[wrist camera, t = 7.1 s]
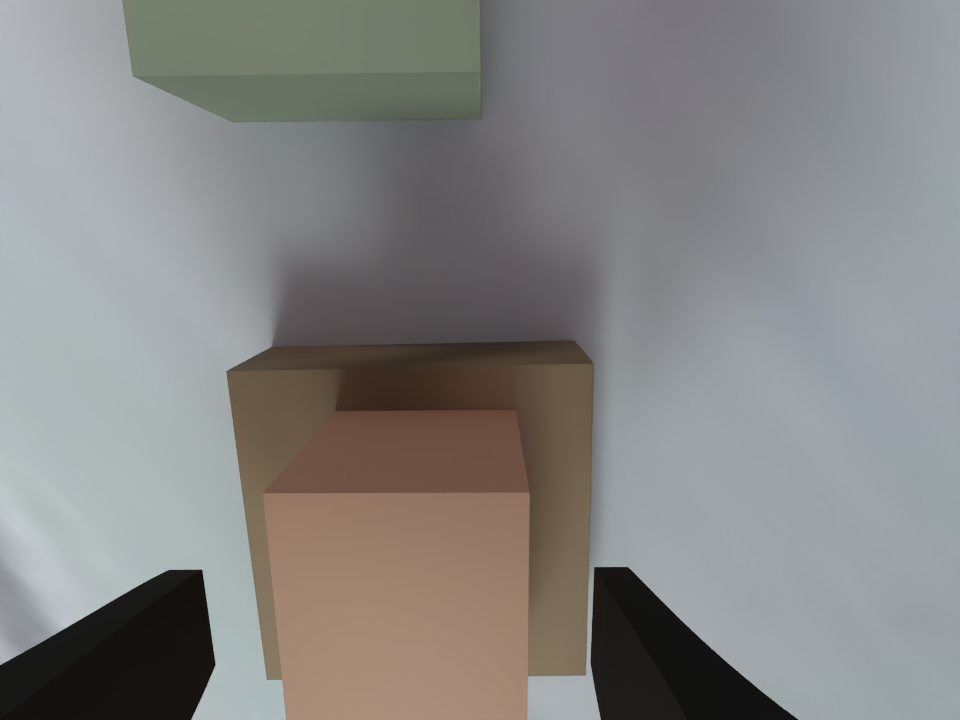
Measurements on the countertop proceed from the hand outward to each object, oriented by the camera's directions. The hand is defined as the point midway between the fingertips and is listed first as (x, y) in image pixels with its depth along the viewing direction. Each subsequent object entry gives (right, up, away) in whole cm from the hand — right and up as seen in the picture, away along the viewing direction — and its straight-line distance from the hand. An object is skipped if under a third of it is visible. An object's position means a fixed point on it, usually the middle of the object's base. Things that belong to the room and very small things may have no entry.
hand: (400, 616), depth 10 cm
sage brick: (-2, +12, +3) cm, 13 cm away
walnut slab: (0, +1, +6) cm, 6 cm away
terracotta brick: (0, +1, +3) cm, 3 cm away
